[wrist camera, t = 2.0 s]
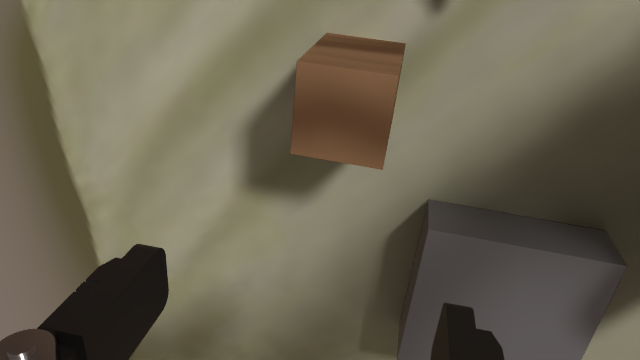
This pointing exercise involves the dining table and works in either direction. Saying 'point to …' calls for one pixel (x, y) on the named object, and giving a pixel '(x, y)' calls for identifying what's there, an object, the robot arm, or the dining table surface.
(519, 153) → the dining table surface
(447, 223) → the slate base
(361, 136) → the walnut block
